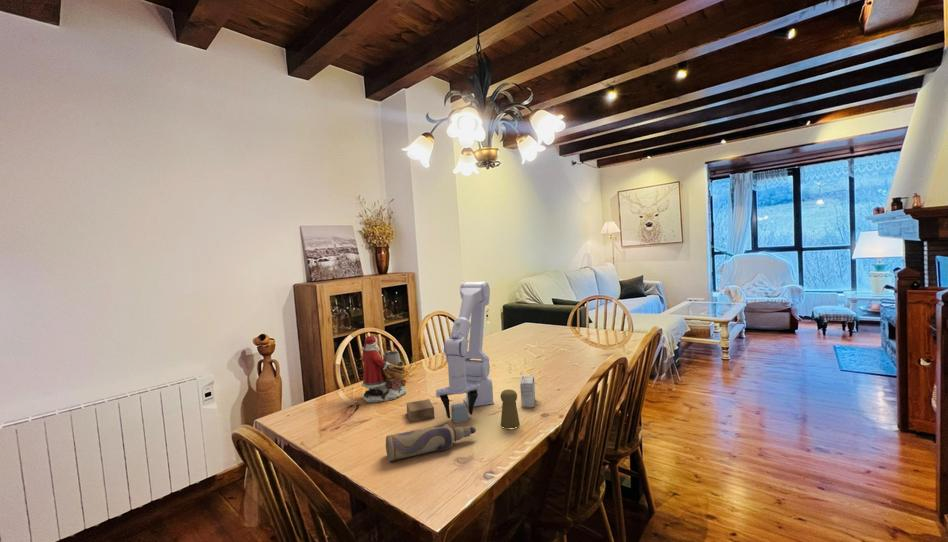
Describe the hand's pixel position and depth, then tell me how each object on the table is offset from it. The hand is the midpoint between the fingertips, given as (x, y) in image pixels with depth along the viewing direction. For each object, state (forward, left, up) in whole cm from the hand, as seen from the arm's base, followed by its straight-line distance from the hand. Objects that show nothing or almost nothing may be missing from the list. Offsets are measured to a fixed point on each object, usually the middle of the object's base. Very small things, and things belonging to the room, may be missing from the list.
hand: (459, 415), depth 130 cm
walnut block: (+12, -8, -2) cm, 15 cm away
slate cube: (0, 0, -2) cm, 2 cm away
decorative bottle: (+12, +17, -2) cm, 21 cm away
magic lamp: (+17, -47, -2) cm, 50 cm away
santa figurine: (+23, -32, -2) cm, 39 cm away
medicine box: (-26, -4, -2) cm, 26 cm away
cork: (-14, +10, -2) cm, 17 cm away
